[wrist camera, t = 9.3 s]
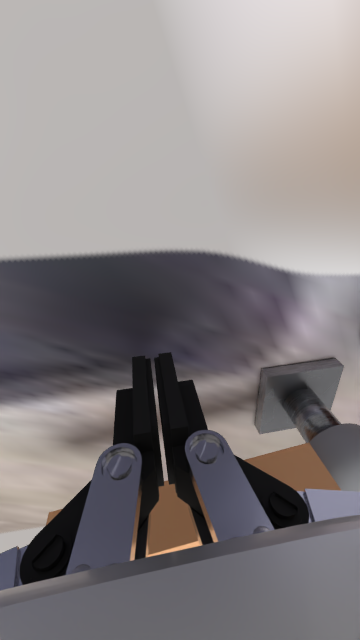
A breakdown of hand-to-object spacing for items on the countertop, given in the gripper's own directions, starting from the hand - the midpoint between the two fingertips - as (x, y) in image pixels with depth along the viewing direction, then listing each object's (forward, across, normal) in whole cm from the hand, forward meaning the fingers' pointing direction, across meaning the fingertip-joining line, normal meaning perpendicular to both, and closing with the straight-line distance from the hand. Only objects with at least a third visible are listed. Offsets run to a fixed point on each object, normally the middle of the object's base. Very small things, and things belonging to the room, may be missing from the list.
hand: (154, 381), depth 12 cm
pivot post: (+3, -9, +5) cm, 11 cm away
